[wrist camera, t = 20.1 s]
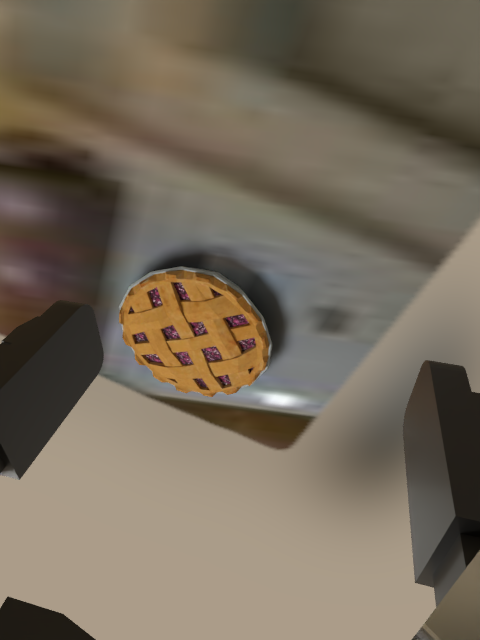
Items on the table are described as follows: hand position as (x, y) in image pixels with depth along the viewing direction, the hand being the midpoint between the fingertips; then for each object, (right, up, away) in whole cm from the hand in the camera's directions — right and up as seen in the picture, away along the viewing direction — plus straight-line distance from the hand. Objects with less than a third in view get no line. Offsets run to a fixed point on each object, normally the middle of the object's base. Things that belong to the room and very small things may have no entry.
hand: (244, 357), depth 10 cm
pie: (-6, 0, +51) cm, 51 cm away
